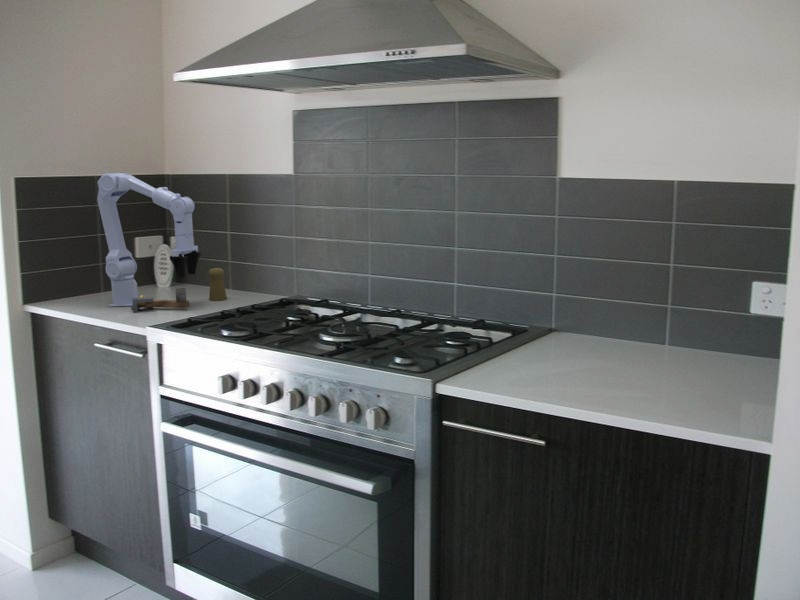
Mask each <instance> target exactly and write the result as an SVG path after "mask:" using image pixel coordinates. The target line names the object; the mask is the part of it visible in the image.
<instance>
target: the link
mask: <svg viewBox="0 0 800 600" xmlns="http://www.w3.org/2000/svg"><path fill="white" fill-rule="evenodd" d="M175 299H176V300H175ZM175 299H173V300H172V299H171V300H170V299H169V300H168V299H153V301H154V302H140V303H137V307H138V308H142V307H154V308H165V309H166V308H169V309H178V308H179V309H180V308H181V309H187V308H189V307H190V300H187V290H186V288H185V287H183V288H182V287H180V288H175Z"/></svg>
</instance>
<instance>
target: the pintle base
mask: <svg viewBox="0 0 800 600" xmlns="http://www.w3.org/2000/svg"><path fill="white" fill-rule="evenodd" d="M138 298H146V297H145V295H144V294H140V295H139V294H138ZM130 308H131V310H132V311H133V306H130ZM154 308H155V307H142V308H138V307H137V312H138V311H139V312H140V311H142V312H143V311H150V310H153V309H154Z"/></svg>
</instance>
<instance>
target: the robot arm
mask: <svg viewBox="0 0 800 600" xmlns="http://www.w3.org/2000/svg"><path fill="white" fill-rule="evenodd" d="M97 187H98V192H97V198H96V199H97V205H98V209H99V213H100V216H101V222H102V225H103V230H104V234H105V240H106V243H107V247H108V253H107V255H106V257H105V262H106V263H105V274H106V275H107V277H108V278H109V280H110V284H111V297H112V303H110V304H108V307H132V306H133V301H132V298H139V294H138V293H139V291H138V282H137V281H136V279H134V278H135V274H136V273H137V269H138V265H137V262H136V260H135V259H134V257H133V254H132V253H131V251H129V249H128V248H127V246H126V242H125V238H124V232H123V228H122V224H121V220H120V216H119V211H118V207H117V202H118V200H119V199H120V197H122V196H123V195H124V194H126V193H127V192H128V191H130V190H131V191H134V192H136V193H140V194H141V195H144V196H146V197H149V198H151V199H152V200H151V201H152V203H153V204H156V205H157V206H159V207H160V208H161V207H162V208H164V209H165V210H168V211H170V213H171V214H172V216H173V222H174V224H173V225H174V239H175V248H174V249H172V250H171V255H170V256H169V260H170V261H171V263H172V265H173V267H174V270H175V273H176V276H177V278H179V279H180V278H181V279H182V278H183V279H184V278H185V277H186V269H187V273H188V275H196V273H197V267H198V261H199V260H200V257H201V255H202V254H201V253H202V252H199V247H198V245H194V244H195V243H194V242H195V241H194V227H193V212H194V210H195V208H196V207H195V206H196V205H195V202H194V200H192V198H190V197H189V196H183V197H182V196H181V194H180V193H175V192H173V191H170V190H169V188H168V187H166V186H163V187H162V186H160V187H157V188H155V187H153V186H152V185H150V184H148V183H146V182H144V181H142V180H141V179H138V178H137V177H135V176H134V175H131V174H129V173H126V172H118V173H110V172H108V173H107V172H105V173H104V174H102V175H101V176H100V178H99V179H98V180H97Z"/></svg>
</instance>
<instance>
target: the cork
mask: <svg viewBox="0 0 800 600" xmlns="http://www.w3.org/2000/svg"><path fill="white" fill-rule="evenodd" d="M208 276H209V278H210V282H209V295H208V296H209V298H208V300H209V301H211V302H223V301H226V300H227V299H228V298H227V293H226V286H225V282H224V281H225V280H224V278H223V277H224V276H225V270H224V269H223V268H221V267H214V268H210V269H209V270H208Z"/></svg>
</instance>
